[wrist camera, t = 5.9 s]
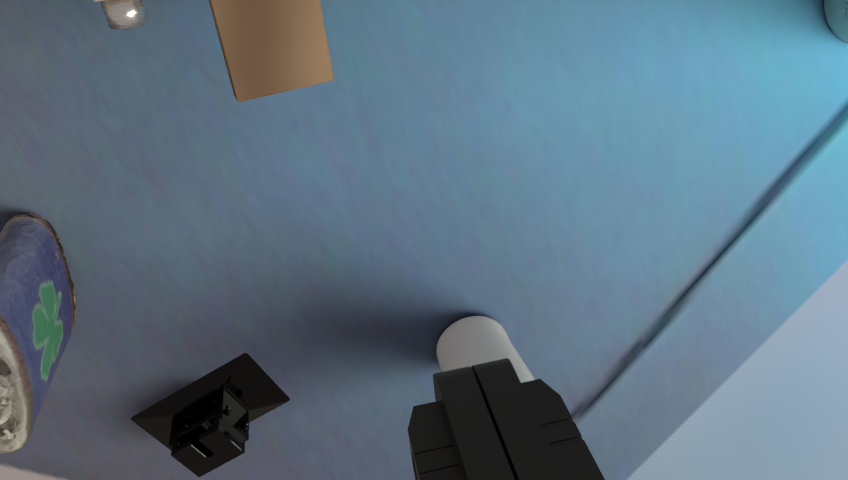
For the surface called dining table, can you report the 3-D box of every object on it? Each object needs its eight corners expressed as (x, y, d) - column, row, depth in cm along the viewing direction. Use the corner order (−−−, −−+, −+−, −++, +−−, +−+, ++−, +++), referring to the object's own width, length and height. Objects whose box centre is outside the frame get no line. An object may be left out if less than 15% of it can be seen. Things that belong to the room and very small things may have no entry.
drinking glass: (405, 346, 46) (462, 532, 34) (477, 287, 45) (564, 458, 32) (461, 388, 50) (531, 571, 37) (530, 335, 48) (626, 506, 36)
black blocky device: (257, 330, 43) (258, 378, 39) (315, 392, 47) (320, 441, 43) (103, 416, 44) (89, 471, 40) (172, 469, 48) (166, 524, 44)
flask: (1, 210, 35) (-85, 338, 26) (61, 211, 35) (-2, 335, 27) (30, 343, 39) (-34, 490, 30) (83, 341, 40) (36, 483, 31)
